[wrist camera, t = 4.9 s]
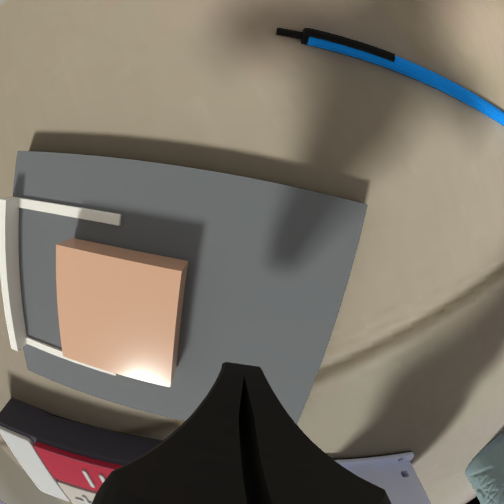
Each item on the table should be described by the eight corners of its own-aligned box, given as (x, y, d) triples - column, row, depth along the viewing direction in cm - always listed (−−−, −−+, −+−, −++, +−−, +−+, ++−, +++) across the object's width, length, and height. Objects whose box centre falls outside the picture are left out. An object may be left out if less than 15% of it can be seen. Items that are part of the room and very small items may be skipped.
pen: (277, 28, 12) (279, 18, 11) (529, 135, 13) (540, 135, 12) (274, 41, 12) (276, 32, 11) (529, 146, 13) (539, 146, 12)
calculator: (180, 531, 17) (37, 494, 16) (182, 497, 21) (49, 467, 20) (162, 476, 14) (-12, 424, 13) (170, 431, 18) (10, 395, 17)
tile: (181, 271, 12) (55, 244, 11) (170, 387, 13) (62, 356, 13) (188, 259, 13) (73, 237, 13) (176, 368, 15) (76, 341, 14)
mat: (359, 202, 14) (378, 207, 12) (290, 423, 17) (295, 447, 15) (28, 151, 13) (4, 150, 10) (34, 362, 16) (19, 378, 14)
